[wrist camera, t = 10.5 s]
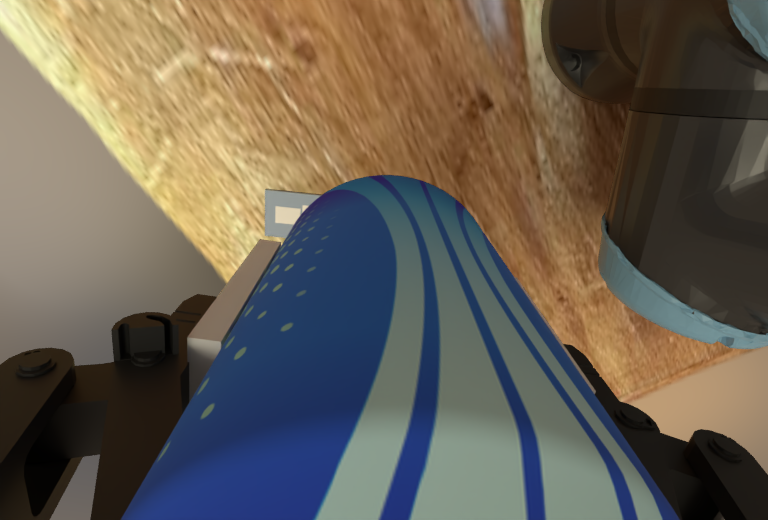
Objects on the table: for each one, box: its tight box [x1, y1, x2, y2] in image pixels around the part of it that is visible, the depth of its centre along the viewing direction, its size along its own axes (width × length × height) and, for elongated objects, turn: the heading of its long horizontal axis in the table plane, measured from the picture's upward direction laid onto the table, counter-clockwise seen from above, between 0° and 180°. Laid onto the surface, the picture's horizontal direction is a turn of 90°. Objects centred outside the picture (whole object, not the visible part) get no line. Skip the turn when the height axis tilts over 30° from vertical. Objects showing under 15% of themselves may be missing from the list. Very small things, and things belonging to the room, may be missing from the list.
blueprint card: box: [265, 189, 321, 238], centre depth 46 cm, size 8×5×1 cm, turn 84°
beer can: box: [121, 175, 680, 520], centre depth 11 cm, size 8×8×16 cm
